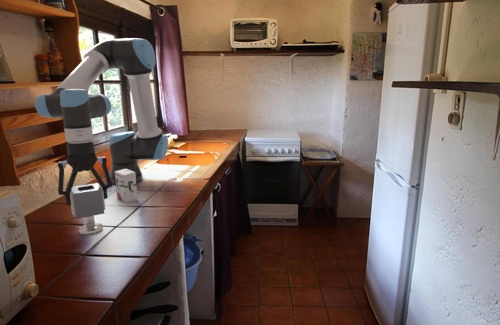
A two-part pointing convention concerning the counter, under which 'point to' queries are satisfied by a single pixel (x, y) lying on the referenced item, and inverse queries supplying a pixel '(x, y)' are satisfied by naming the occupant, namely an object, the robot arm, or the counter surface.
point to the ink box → (126, 185)
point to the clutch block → (87, 200)
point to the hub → (90, 227)
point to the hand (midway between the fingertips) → (88, 211)
